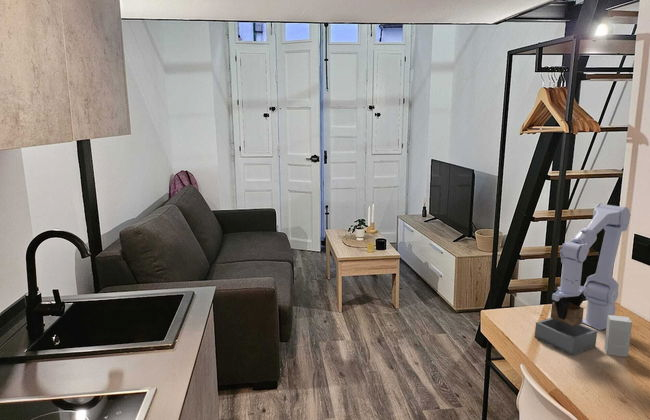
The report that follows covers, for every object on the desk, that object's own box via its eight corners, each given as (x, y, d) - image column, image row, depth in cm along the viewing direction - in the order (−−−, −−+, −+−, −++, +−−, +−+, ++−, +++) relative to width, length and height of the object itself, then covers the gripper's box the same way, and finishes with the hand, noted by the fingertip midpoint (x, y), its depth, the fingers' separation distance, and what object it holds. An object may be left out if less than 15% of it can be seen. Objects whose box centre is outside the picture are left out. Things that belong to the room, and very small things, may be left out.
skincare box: (624, 351, 152) (629, 316, 150) (628, 357, 148) (632, 322, 146) (603, 348, 154) (607, 314, 152) (606, 354, 150) (610, 319, 148)
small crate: (560, 314, 162) (561, 299, 161) (582, 323, 155) (583, 308, 154) (550, 317, 160) (552, 302, 158) (572, 327, 153) (573, 311, 151)
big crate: (557, 329, 167) (559, 315, 166) (595, 346, 155) (597, 331, 154) (534, 337, 162) (535, 322, 161) (571, 355, 150) (573, 339, 149)
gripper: (574, 270, 161) (570, 307, 163) (545, 278, 154) (541, 316, 157) (593, 277, 154) (589, 315, 157) (564, 285, 148) (560, 324, 151)
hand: (567, 316), depth 157 cm, fingers closed on small crate, 5 cm apart
